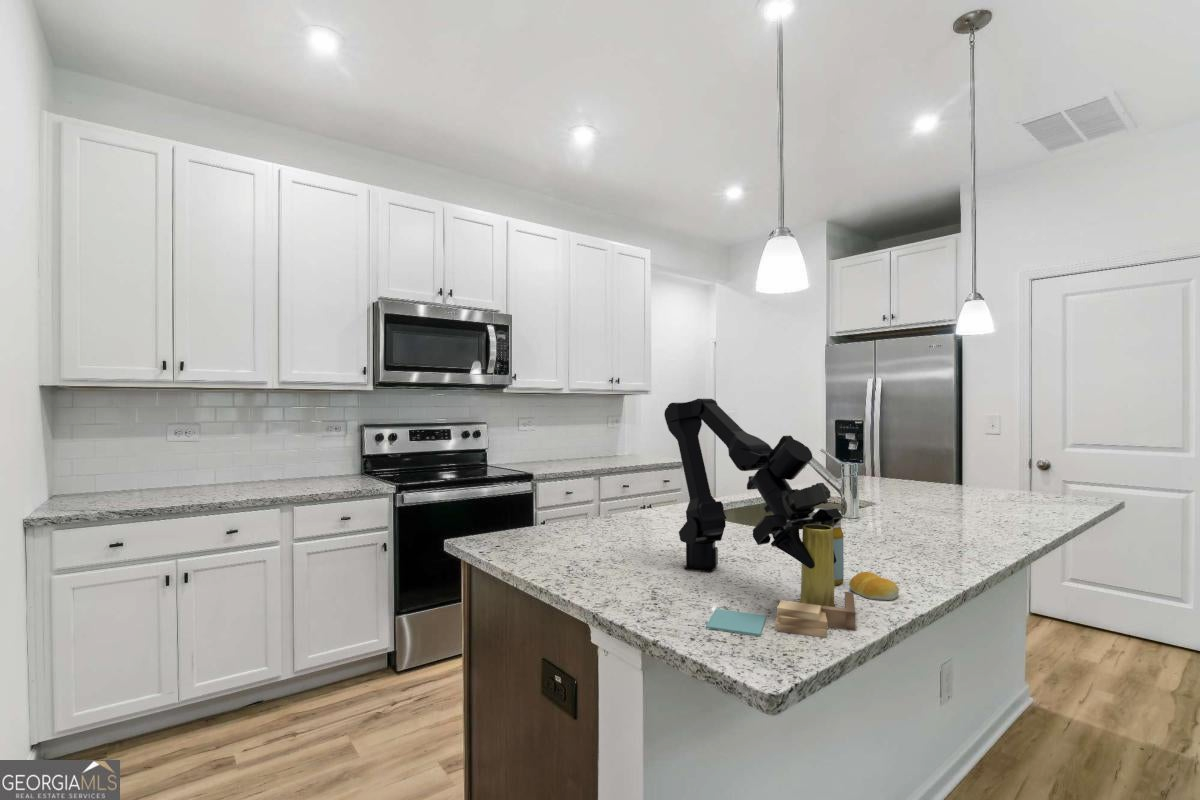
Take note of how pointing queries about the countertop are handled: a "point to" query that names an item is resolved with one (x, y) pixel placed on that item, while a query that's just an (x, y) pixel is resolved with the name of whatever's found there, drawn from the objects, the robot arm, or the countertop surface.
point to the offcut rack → (814, 617)
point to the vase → (818, 566)
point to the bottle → (837, 551)
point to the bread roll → (873, 586)
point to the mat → (737, 622)
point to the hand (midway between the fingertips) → (823, 565)
